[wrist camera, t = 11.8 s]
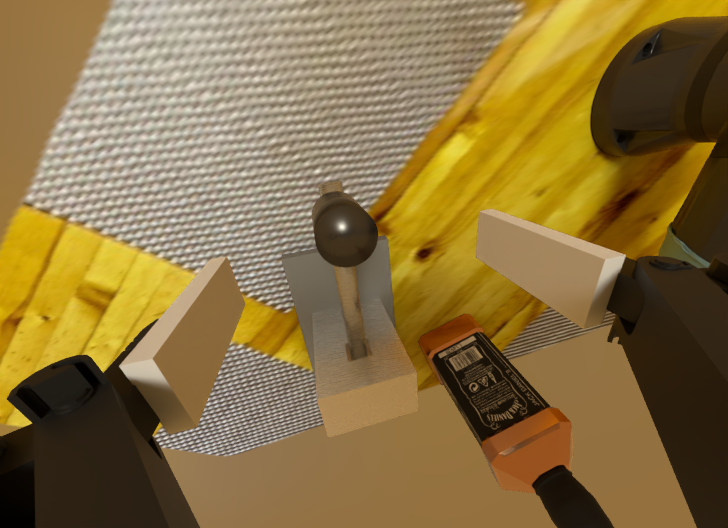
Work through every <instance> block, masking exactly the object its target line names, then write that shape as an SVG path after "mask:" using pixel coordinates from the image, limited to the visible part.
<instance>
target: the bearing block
mask: <svg viewBox="0 0 728 528" xmlns="http://www.w3.org/2000/svg"><path fill="white" fill-rule="evenodd" d="M360 305H361V311H362V318H363V325H364V331H365V338H366V345H367V351H368V357H364V358H360V359H356V360H351V355H350V350H349V345H348V340H347V334H346V329H345V324H344V319H343V314H342V308H341V307H339V308H334V309H330V310H326V311H321V312H317V313H312V323H313V340H314V358H315V375H316V393H317V402H318V405H319V408H320V412H321V415H322V418H323V422H324V425H325V428H326V431H327V435H328V437H331V436H335V435H339V434H342V433H345V432H349V431H352V430H356V429H359V428H362V427H366V426H369V425H373V424H376V423H379V422H383V421H386V420H389V419H393V418H396V417H400V416H403V415H406V414H410V413H413V412H416V411H418V388H417V372H416V370H415V368H414V366H413V364H412V362H411V360H410V358H409V356H408V354H407V352H406V350H405V348H404V346H403V344H402V342H401V340H400V338H399V336H398V334H397V332H396V330H395V328H394V326H393V324H392V322H391V320H390V318H389V316H388V314H387V312H386V310H385V308H384V306H383V304H382V302H381V300H380V298H379V299H374V300H370V301H365V302H361V303H360Z"/></svg>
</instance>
